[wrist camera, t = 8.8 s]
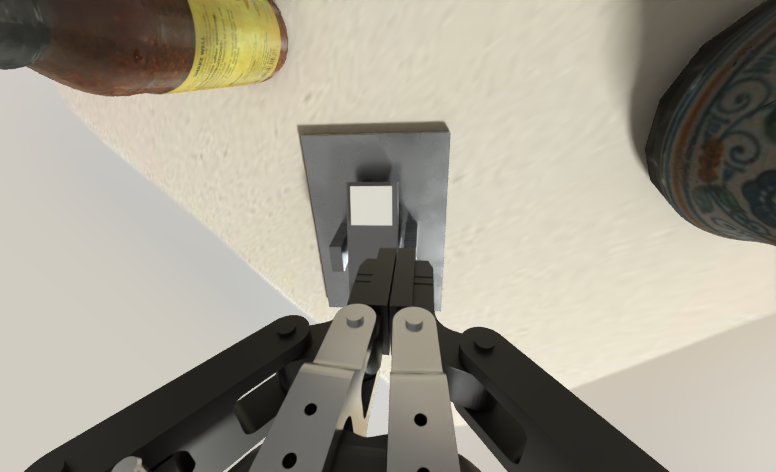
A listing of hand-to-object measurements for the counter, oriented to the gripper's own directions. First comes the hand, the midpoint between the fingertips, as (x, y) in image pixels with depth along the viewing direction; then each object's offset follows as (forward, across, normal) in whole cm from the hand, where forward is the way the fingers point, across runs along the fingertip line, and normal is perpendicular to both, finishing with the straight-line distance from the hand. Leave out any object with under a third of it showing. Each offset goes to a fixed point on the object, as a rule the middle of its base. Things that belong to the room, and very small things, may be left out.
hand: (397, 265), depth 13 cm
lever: (+10, +3, +6) cm, 13 cm away
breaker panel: (+15, +3, +6) cm, 17 cm away
